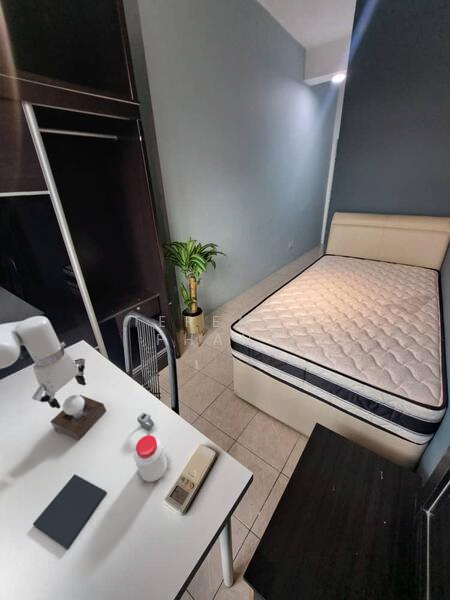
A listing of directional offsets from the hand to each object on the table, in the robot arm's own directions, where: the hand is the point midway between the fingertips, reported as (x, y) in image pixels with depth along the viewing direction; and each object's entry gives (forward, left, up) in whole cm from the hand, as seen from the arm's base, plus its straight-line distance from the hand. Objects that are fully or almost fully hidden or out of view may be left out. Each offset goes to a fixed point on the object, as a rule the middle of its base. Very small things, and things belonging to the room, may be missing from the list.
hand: (70, 394), depth 81 cm
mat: (+20, -20, -13) cm, 31 cm away
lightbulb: (0, 0, -13) cm, 13 cm away
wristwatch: (+24, +6, -13) cm, 28 cm away
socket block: (0, 0, -13) cm, 13 cm away
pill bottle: (+34, -4, -13) cm, 36 cm away
